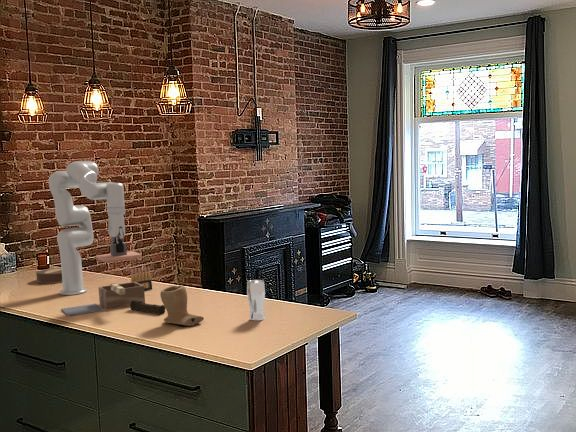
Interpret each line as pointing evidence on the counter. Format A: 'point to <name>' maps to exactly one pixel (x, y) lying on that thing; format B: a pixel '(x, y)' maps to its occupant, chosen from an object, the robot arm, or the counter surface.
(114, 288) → the rectangular bar
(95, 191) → the robot arm
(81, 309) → the mat
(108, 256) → the lid
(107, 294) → the toolbox
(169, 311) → the brown boot
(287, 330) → the counter surface
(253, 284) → the beer glass
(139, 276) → the ammunition clip
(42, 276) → the container
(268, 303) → the counter surface
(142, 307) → the black rough elongated piece
